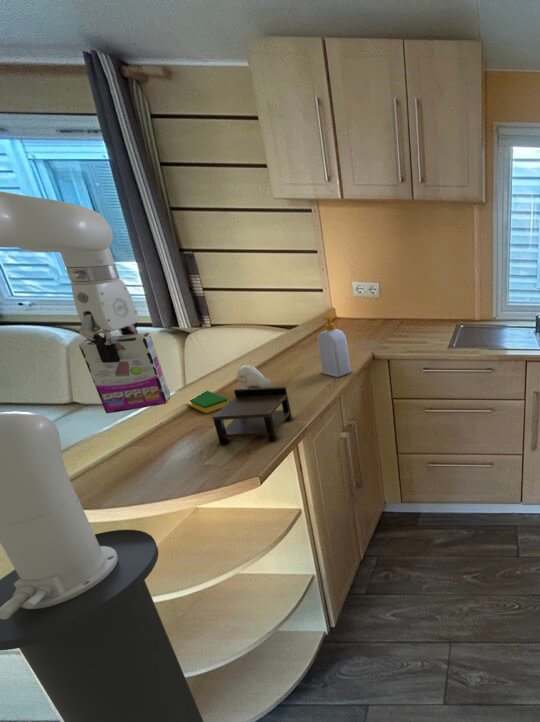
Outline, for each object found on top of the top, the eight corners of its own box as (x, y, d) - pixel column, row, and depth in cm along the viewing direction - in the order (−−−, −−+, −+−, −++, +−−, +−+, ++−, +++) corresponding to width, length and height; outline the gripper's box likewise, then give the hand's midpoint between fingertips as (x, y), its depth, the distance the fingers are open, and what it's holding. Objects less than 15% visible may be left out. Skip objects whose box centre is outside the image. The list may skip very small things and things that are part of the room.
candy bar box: (171, 396, 99) (150, 331, 93) (167, 404, 95) (145, 336, 89) (111, 405, 94) (85, 337, 88) (104, 414, 90) (77, 343, 84)
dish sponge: (206, 413, 127) (204, 406, 126) (185, 404, 134) (183, 397, 133) (229, 405, 133) (228, 398, 132) (208, 396, 140) (206, 390, 139)
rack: (275, 441, 111) (267, 407, 108) (220, 444, 110) (210, 410, 106) (292, 418, 124) (285, 387, 121) (243, 421, 123) (235, 389, 119)
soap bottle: (352, 372, 162) (345, 316, 154) (338, 377, 157) (329, 319, 148) (337, 368, 166) (328, 313, 158) (322, 373, 161) (313, 316, 152)
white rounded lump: (248, 361, 147) (274, 368, 144) (251, 383, 150) (277, 389, 147) (232, 367, 142) (259, 374, 138) (236, 389, 145) (263, 396, 142)
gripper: (81, 280, 76) (113, 369, 83) (141, 269, 92) (165, 345, 99) (35, 281, 75) (72, 371, 82) (104, 270, 91) (130, 346, 98)
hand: (122, 356), depth 90 cm, fingers closed on candy bar box, 6 cm apart
